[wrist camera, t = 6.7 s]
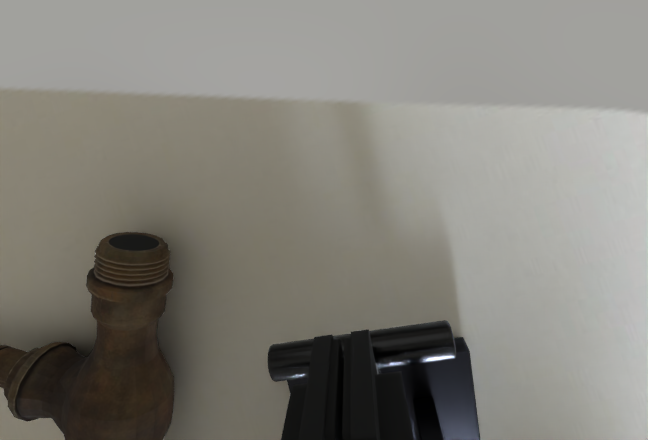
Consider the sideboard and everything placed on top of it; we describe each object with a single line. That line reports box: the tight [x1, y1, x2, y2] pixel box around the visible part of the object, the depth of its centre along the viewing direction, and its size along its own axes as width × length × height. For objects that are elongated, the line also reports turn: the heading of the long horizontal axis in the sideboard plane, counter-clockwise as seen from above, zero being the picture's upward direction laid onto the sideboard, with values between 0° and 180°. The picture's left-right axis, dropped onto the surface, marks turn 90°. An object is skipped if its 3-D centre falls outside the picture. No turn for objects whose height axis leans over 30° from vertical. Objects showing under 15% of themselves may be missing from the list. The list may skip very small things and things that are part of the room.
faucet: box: [0, 232, 174, 440], centre depth 20 cm, size 5×17×15 cm
